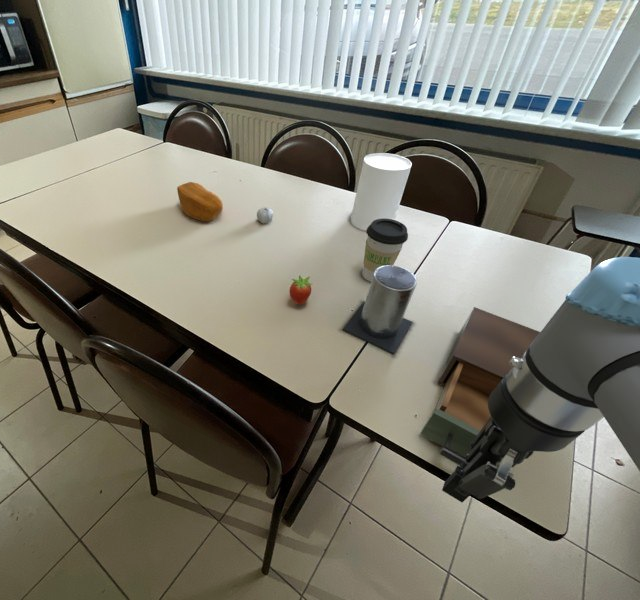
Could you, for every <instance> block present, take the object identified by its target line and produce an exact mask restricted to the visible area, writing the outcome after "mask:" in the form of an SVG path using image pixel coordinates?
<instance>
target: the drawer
mask: <svg viewBox="0 0 640 600" xmlns="http://www.w3.org/2000/svg"><path fill="white" fill-rule="evenodd" d="M500 382H501V380H500V379H498V378H495V377H493V376H491V375H489V374H487V373H484V372H482V371H480V370H478V369H475V368H473V367H471V366H469V365H466V364H464V363H462V362H460V361H458V363H457V364H456V366H455V368H454V369H453V371H452V372H451V374H450V376H449V377H448V380H447V382H446V385H445V387H444V386H443V390H442V392H441V395H440V397H439V400H438V402H437V405H436V406H435V408H434V410H433V411H432V412H431V414H430V416H429V417H428V419H427V420H426V422H425V424H424V425H423V427H422V428H421V431H420V435H422V436H423V437H424V438H427V439H429V440H431V441H432V442H434V443H436V444H438V445H439V446H441V448H440V451H439V455H441V456H442V457H443V458H446V459H448V460H449V461H451V462H453V463H455V464H456V465H457V466H460V464H461V463H462V462H464V463H466V461H465V456H466V455H467V454H468V453H469V452H470V451H471V450H472V449H471V448H470V444H471V442H473V440H474V439H475V438H476V436H477V435H478V433H479V432H480V431H481V429H482V428H483V426H484V425H485V424H486V422H487V421H488V419H489V418H490V417H491V415H490V413H489V410H488V399H489V396H490V394H491V393H492V392H493V390H494V389H495V388H496V387H497V385H498V384H499V383H500Z"/></svg>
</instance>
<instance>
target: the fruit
mask: <svg viewBox="0 0 640 600" xmlns="http://www.w3.org/2000/svg"><path fill="white" fill-rule="evenodd" d="M310 277H311V276H310V275H309V276H307V277H305V278H303V276H301V274H299V276H298V279H294V278H292V279H291V280H292V281H293V282H292V283H291V284H290V287H289V296H290V298H291V299H292V301H293V302H294V303H296V304H297V305H304V304H305V303H306V302H307V300H308V299H309V298H310V296H311V294H312V285H313V284H314V283H313V282H312V283H310V282H309V279H310Z"/></svg>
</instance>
